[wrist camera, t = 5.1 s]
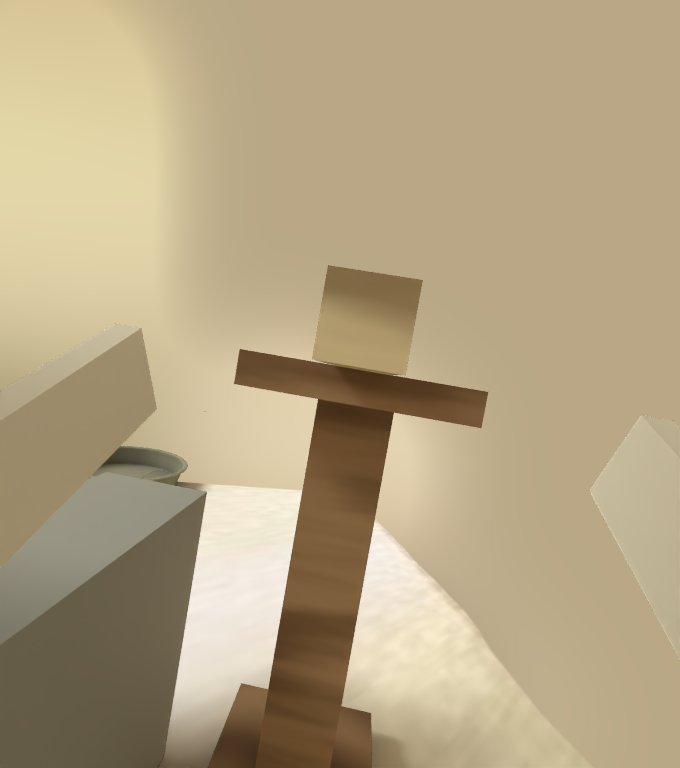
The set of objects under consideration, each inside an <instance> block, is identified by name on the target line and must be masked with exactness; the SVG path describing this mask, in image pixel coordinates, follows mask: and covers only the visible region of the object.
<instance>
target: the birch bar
mask: <svg viewBox="0 0 680 768" xmlns="http://www.w3.org/2000/svg"><path fill="white" fill-rule="evenodd" d="M421 287H422V280H419V279H412V278H406V277H399V276H393V275H387V274H380V273H373V272H367V271H361V270H354V269H348V268H341V267H335V266H329V265H328V269H327V274H326V281H325V286H324V292H323V298H322V304H321V310H320V315H319V321H318V327H317V333H316V339H315V345H314V351H313V357H312V359H314V360H317V361H321V362H324V363H328V364H331V365H335V366H340V367H346V368H352V369H357V370H363V371H369V372H375V373H381V374H386V375H406V370H407V364H408V358H409V353H410V348H411V342H412V336H413V331H414V325H415V319H416V314H417V308H418V303H419V298H420V292H421Z"/></svg>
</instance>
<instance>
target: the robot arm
mask: <svg viewBox="0 0 680 768" xmlns="http://www.w3.org/2000/svg"><path fill="white" fill-rule="evenodd" d="M156 409H157V408H156V402H155V397H154V392H153V387H152V381H151V376H150V371H149V366H148V361H147V355H146V350H145V345H144V340H143V335H142V329H141V328H138V327H132V326H127V325H121V324H113V325H111V326H110V327H108V328H106V329H105V330H103V331H101V332H99V333H98V334H96V335H94V336H93V337H91V338H89V339H87V340H86V341H84V342H82V343H81V344H79V345H77V346H75V347H74V348H72V349H70V350H69V351H67V352H65V353H64V354H62V355H60V356H58V357H57V358H55V359H53V360H52V361H50V362H48V363H46V364H45V365H43V366H41V367H40V368H38V369H36V370H34V371H33V372H31V373H29V374H27V375H26V376H24V377H22V378H21V379H19V380H17V381H15V382H14V383H12V384H10V385H9V386H7V387H5V388H3V389H2V390H0V568H1V567H2V566H3V565H4V564H5V563H6V562H7V561H8V560H9V559H10V558H11V557H12V556H13V555H14V554H15V553H16V552H17V551H18V550H19V549H20V548H21V547H22V546H23V545H24V544H25V543H26V542H27V541H28V540H29V539H30V538H31V537H32V536H33V535H34V534H35V533H36V532H37V531H38V530H39V528H40V527H41V526H42V525H43V524H44V523H45V522H46V521H47V520H48V519H49V518H50V517H51V516H52V515H53V514H54V513H55V512H56V511H57V510H58V509H59V508H60V507H61V506H62V505H63V504H64V503H65V502H66V501H67V500H68V499H69V498H70V497H71V496H72V495H73V494H74V493H75V492H76V491H77V490H78V489H79V488H80V487H81V486H82V485H83V484H84V483H85V482H86V481H87V480H88V479H89V477H90V476H91V475H92V474H93V473H94V472H95V471H96V470H97V469H98V468H99V467H100V466H101V465H102V464H103V463H104V462H105V461H106V460H107V459H108V458H109V457H110V456H111V455H112V454H113V453H114V452H115V451H116V450H117V449H118V448H119V447H120V446H121V445H122V444H123V443H124V442H125V441H126V440H127V439H128V438H129V437H130V436H131V435H132V434H133V433H134V432H135V431H136V430H137V429H138V427H139V426H140V425H141V424H142V423H143V422H144V421H145V420H146V419H147V418H148V417H149V416H150V415H151V414H152V413H153V412H154V411H155V410H156ZM589 491H590V493H591V495H592V497H593V499H594V501H595V503H596V505H597V507H598V508H599V510H600V512H601V514H602V516H603V518H604V519H605V522H606V523H607V525H608V527H609V529H610V531H611V533H612V535H613V536H614V538H615V540H616V542H617V544H618V546H619V548H620V550H621V551H622V553H623V555H624V557H625V559H626V561H627V562H628V565H629V566H630V568H631V570H632V572H633V574H634V576H635V578H636V579H637V581H638V583H639V585H640V587H641V589H642V591H643V592H644V595H645V596H646V598H647V600H648V602H649V604H650V606H651V607H652V610H653V611H654V613H655V615H656V617H657V619H658V620H659V622H660V624H661V626H662V628H663V630H664V632H665V634H666V636H667V638H668V639H669V641H670V643H671V645H672V647H673V649H674V651H675V653H676V654H677V656H678V658H679V660H680V427H679V426H678V425H677V424H676V423H675V422H674V421H673V420H668V419H662V418H656V417H650V416H644V415H641V416H640V417H639V419H638V420H637V422H636V423H635V425H634V426H633V427H632V429H631V431H630V432H629V433H628V435H627V436H626V438H625V439H624V441H623V442H622V443H621V445H620V447H619V448H618V450H617V451H616V452H615V454H614V455H613V457H612V458H611V460H610V461H609V463H608V464H607V465H606V467H605V468H604V470H603V471H602V473H601V474H600V476H599V477H598V479H597V480H596V481H595V483H594V484H593V486H592V487H591V489H590V490H589Z"/></svg>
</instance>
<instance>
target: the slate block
mask: <svg viewBox="0 0 680 768" xmlns="http://www.w3.org/2000/svg"><path fill="white" fill-rule="evenodd" d="M206 494H207V492H205V491H200V490H195V489H190V488H185V487H180V486H175V485H170V484H165V483H160V482H155V481H150V480H145V479H140V478H135V477H129V476H124V475H119V474H114V473H109V472H106V473H103V474H100V475H98V476H95V477H93V478H90V479H88V480H87V481H86V482H85V483H84V484H83V485H82V486H81V487H80V488H79V489H78V490H77V491H76V492H75V493H74V494H73V495H72V496H71V497H70V498H69V499H68V500H67V501H66V502H65V503H64V504H63V505H62V506H61V507H60V508H59V509H58V510H57V511H56V512H55V513H54V514H53V515H52V516H51V517H50V518H49V519H48V520H47V521H46V522H45V523H44V524H43V525H42V526H41V527H40V528H39V530H38V531H37V532H36V533H35V534H34V535H33V536H32V537H31V538H30V539H29V540H28V541H27V542H26V543H25V544H24V545H23V546H22V547H21V548H20V549H19V550H18V551H17V552H16V553H15V554H14V555H13V556H12V557H11V558H10V559H9V560H8V561H7V562H6V563H5V564H4V565H3V566H2V567H1V568H0V768H157V767H158V766H159V764H160V762H161V760H162V758H163V756H164V753H165V747H166V741H167V734H168V728H169V722H170V716H171V710H172V704H173V697H174V691H175V685H176V679H177V673H178V666H179V660H180V654H181V648H182V642H183V636H184V629H185V623H186V617H187V611H188V605H189V599H190V592H191V586H192V580H193V574H194V568H195V562H196V555H197V549H198V543H199V537H200V531H201V524H202V518H203V512H204V506H205V500H206Z"/></svg>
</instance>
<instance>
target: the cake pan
mask: <svg viewBox="0 0 680 768" xmlns="http://www.w3.org/2000/svg"><path fill="white" fill-rule="evenodd" d="M187 466H188V465H187V462H186V461H185V460H184V459H183V458H181V457H179V456H177V455H175V454H172V453H169V452H166V451H161V450H156V449H151V448H143V447H130V446H120V447H119V448H118V449H117V450H116V451H115V452H114V453H113V454H112V455H111V456H110V457H109V458H108V459H107V460H106V461H105V462H104V463H103V464H102V465H101V466H100V467H99V468H98V469H97V470H96V471H95V472H94V473H93V474H92V475H91V476H90V477H89V479H90V478H93V477H95V476H98V475H100V474H103V473H106V472H109V473H114V474H119V475H124V476H129V477H135V478H140V479H145V480H150V481H155V482H160V483H165V484H170V485H175V484H176V483H177V480H178V478H179V476H180V474H181V473H182V472H184V471H185V470H186V469H187Z"/></svg>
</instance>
